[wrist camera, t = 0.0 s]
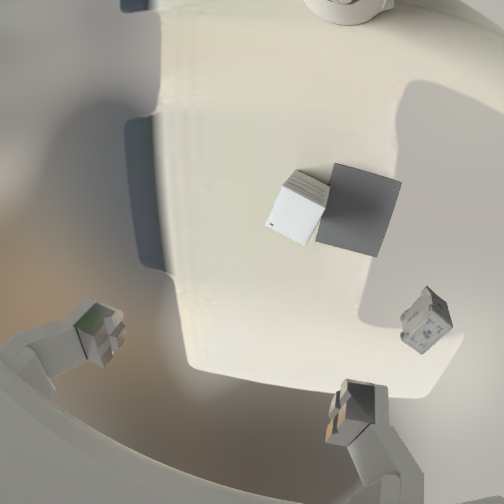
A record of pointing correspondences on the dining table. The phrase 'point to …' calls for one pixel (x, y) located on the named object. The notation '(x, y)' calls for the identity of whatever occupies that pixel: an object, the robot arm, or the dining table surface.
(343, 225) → the mat
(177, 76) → the dining table surface
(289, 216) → the supplement box
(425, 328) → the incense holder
